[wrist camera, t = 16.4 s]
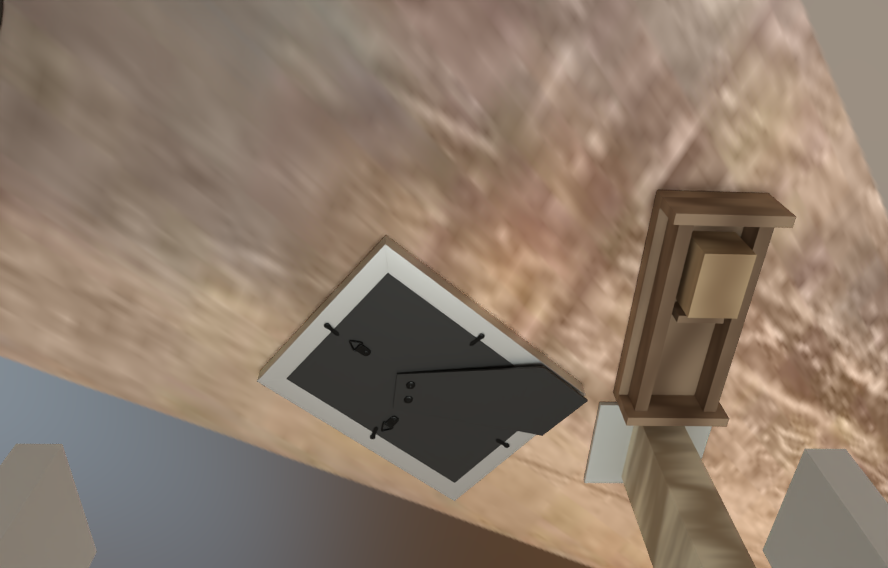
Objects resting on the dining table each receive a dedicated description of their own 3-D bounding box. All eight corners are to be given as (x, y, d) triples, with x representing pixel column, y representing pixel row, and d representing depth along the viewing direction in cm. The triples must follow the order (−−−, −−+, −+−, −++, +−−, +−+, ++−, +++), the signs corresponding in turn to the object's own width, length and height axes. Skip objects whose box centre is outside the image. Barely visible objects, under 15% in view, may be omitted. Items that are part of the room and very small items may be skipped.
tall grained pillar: (621, 476, 60) (692, 679, 45) (636, 412, 57) (720, 608, 41) (659, 476, 61) (744, 678, 45) (677, 412, 57) (776, 608, 41)
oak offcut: (671, 291, 50) (687, 317, 47) (686, 230, 47) (704, 253, 44) (717, 292, 50) (737, 318, 47) (735, 231, 48) (756, 254, 44)
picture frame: (580, 378, 56) (386, 230, 49) (587, 400, 54) (384, 248, 46) (453, 483, 62) (261, 365, 54) (454, 508, 59) (254, 387, 52)
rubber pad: (583, 479, 61) (584, 482, 61) (599, 402, 56) (600, 405, 56) (692, 480, 61) (693, 483, 61) (716, 403, 57) (718, 406, 57)
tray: (613, 392, 56) (626, 425, 53) (656, 190, 47) (676, 213, 44) (707, 393, 56) (726, 426, 53) (768, 193, 47) (796, 216, 44)
